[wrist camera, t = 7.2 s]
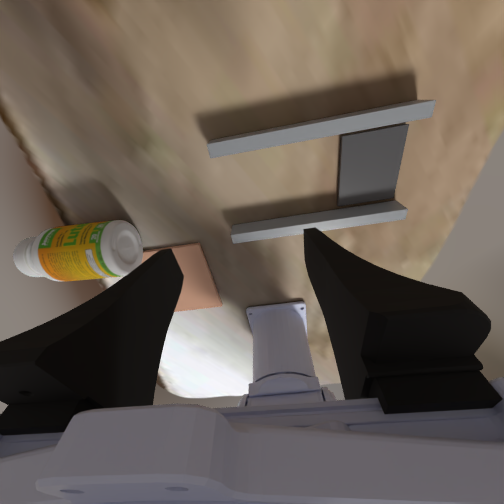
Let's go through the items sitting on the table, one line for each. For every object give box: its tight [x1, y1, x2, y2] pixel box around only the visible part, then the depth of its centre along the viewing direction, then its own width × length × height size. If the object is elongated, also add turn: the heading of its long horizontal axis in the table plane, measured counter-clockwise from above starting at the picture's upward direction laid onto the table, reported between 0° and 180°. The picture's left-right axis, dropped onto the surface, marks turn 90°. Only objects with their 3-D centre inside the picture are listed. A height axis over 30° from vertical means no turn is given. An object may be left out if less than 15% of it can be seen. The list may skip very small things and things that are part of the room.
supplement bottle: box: [13, 220, 143, 281], centre depth 21 cm, size 5×5×10 cm
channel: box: [207, 100, 436, 244], centre depth 19 cm, size 9×16×2 cm, turn 100°
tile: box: [141, 243, 222, 312], centre depth 27 cm, size 10×10×1 cm
